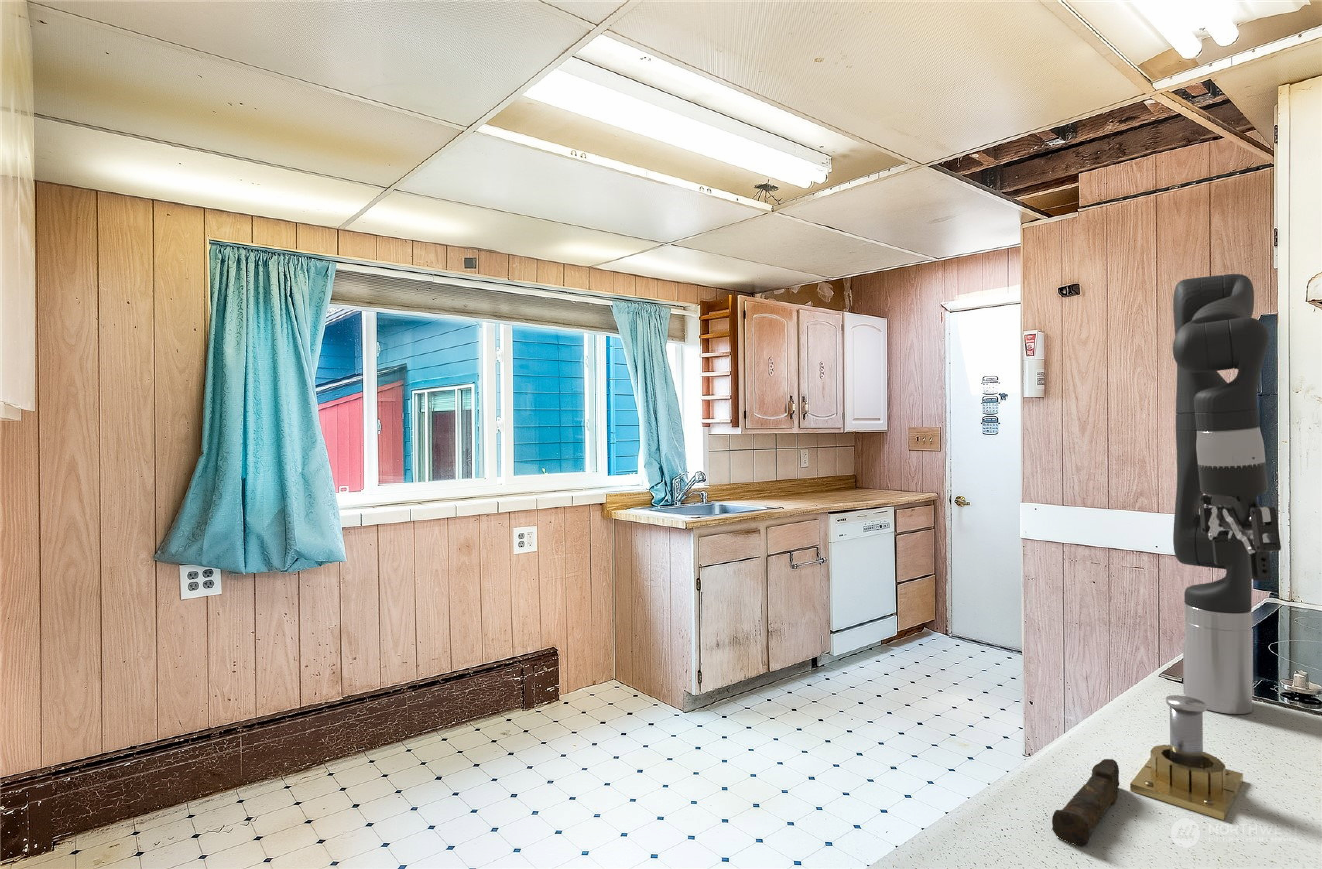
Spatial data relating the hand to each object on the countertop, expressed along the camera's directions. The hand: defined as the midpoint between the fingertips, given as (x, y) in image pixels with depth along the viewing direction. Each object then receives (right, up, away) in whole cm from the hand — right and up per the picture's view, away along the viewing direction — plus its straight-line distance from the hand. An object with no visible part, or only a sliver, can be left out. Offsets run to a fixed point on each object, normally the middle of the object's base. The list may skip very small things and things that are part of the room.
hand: (1241, 572), depth 100 cm
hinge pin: (-11, -28, -4) cm, 30 cm away
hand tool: (-28, -29, -10) cm, 42 cm away
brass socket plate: (-11, -29, -4) cm, 31 cm away
